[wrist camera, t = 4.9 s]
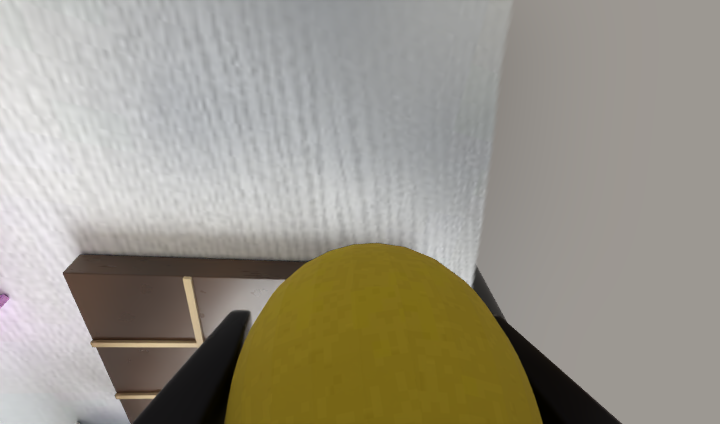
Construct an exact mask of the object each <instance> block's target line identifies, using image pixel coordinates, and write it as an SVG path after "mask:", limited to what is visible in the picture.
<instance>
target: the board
mask: <svg viewBox="0 0 720 424" xmlns="http://www.w3.org/2000/svg"><path fill="white" fill-rule="evenodd" d="M305 263H307V262H292V261H262V260H232V259H201V258H171V257H141V256H111V255H79V256H78V257H77V258H76V259H75V260H74V261H73V263H72V264H71V265H70V266H69V267H68V268H67V269H66V270H65V271H64V272H63V275H64V277H65V279H66V282H67V284H68V286H69V288H70V291H71V293H72V295H73V297H74V299H75V302H76V304H77V306H78V308H79V310H80V313H81V315H82V317H83V319H84V321H85V324H86V326H87V328H88V330H89V333H90V335H91V337H92V339H93V340H92V341H91V345H92V347H96V348H97V350H98V352H99V355H100V357H101V359H102V361H103V364H104V366H105V368H106V370H107V372H108V375H109V377H110V379H111V381H112V383H113V386H114V388H115V390H116V392H117V393H116V394H115V397H116V399H120V401H121V403H122V406H123V408H124V410H125V412H126V414H127V417H128V419H129V421H130V423H132V422H133V421H134V420H135V419H136V418H137V417H138V416H139V414H140V413H141V412H142V411H143V410H144V409H145V408H146V407H147V405H148V404H149V403H150V402H151V401H152V400H153V399H154V397H155V396H156V395H157V394H158V393H159V392H160V391H161V390H162V388H163V387H164V386H165V385H166V384H167V383H168V382H169V381H170V379H171V378H172V377H173V376H174V375H175V374H176V373H177V372H178V370H179V369H180V368H181V367H182V366H183V365H184V364H185V362H186V361H187V360H188V359H189V358H190V357H191V356H192V355H193V353H194V352H195V351H196V350H197V349H198V348H199V347H200V346H201V344H202V343H203V342H204V341H205V340H206V339H207V338H208V336H209V335H210V334H211V333H212V332H213V331H214V330H215V329H216V327H217V326H218V325H219V324H220V323H221V322H222V321H223V320H224V318H225V317H226V316H227V315H228V314H229V313H230V312H231V311H233V310H249V311H250V312H251V317H252V325H253V324H254V322H255V321H256V319H257V317H258V316H259V314H260V313H261V311H262V309H263V308H264V306H265V305H266V303H267V302H268V300H269V298H270V297H271V295H272V294H273V293H274V292H275V290H276V289H277V288H278V287H279V286H280V285H281V284H282V283H283V282H284V281H285V280H286V279H287V278H289V277H290V276H291V275H292V274H293V273H294V272H296V271H297V270H298V269H299V268H300V267H302V266H303V265H304V264H305Z"/></svg>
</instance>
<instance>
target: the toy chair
mask: <svg viewBox="0 0 720 424" xmlns="http://www.w3.org/2000/svg"><path fill="white" fill-rule="evenodd" d="M8 300H9V298H8V297H7V296H6V295H0V308H1V307H2V306H3V305H4V304H5V303H6V302H7V301H8Z"/></svg>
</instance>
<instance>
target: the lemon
mask: <svg viewBox="0 0 720 424" xmlns="http://www.w3.org/2000/svg"><path fill="white" fill-rule="evenodd" d="M224 424H543V422H542V419H541V416H540V412H539V409H538V406H537V402H536V399H535V396H534V394H533V391H532V388H531V385H530V383H529V380H528V377H527V375H526V373H525V370H524V368H523V366H522V364H521V362H520V359H519V357H518V355H517V353H516V352H515V350H514V348H513V346H512V344H511V342H510V341H509V339H508V337H507V336H506V334H505V333H504V331H503V330H502V328H501V327H500V325H499V324H498V322H497V321H496V319H495V318H494V316H493V315H492V313H491V312H490V310H489V309H488V308H487V306H486V305H485V303H484V302H483V301H482V300H481V298H480V297H479V296H478V295H477V293H476V292H475V291H474V290H473V289H472V288H471V287H470V286H469V285H468V284H467V283H466V282H465V281H464V280H462V279H461V278H460V277H458V276H457V275H456V274H454V273H453V272H452V271H450V270H449V269H448V268H446V267H445V266H444V265H442V264H441V263H439V262H438V261H437V260H435V259H433V258H431V257H429V256H427V255H424V254H421V253H419V252H416V251H414V250H411V249H409V248H406V247H401V246H394V245H387V244H381V243H369V244H354V245H350V246H346V247H343V248H339V249H335V250H332V251H329V252H327V253H325V254H323V255H321V256H319V257H317V258H315V259H313V260H311V261H309V262H307V263H305V264H304V265H303V266H302V267H300V268H299V269H298V270H297V271H296V272H294V273H293V274H292V275H291V276H290V277H289V278H287V279H286V280H285V281H284V282H283V283H282V284H281V285H280V286H279V287H278V288H277V289H276V290H275V292H274V293H273V294H272V295H271V297H270V298H269V300H268V302H267V303H266V305H265V306H264V308H263V309H262V311H261V313H260V314H259V316H258V317H257V319H256V321H255V322H254V324H253V325H252V327H251V329H250V331H249V333H248V335H247V338H246V340H245V342H244V344H243V347H242V350H241V352H240V355H239V358H238V361H237V364H236V368H235V371H234V375H233V378H232V383H231V388H230V393H229V398H228V404H227V409H226V414H225V419H224Z"/></svg>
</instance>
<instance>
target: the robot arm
mask: <svg viewBox="0 0 720 424" xmlns="http://www.w3.org/2000/svg"><path fill="white" fill-rule="evenodd" d="M493 316H494V318H495V319H496V321H497V322H498V324H499V325H500V327H501V328H502V330H503V331H504V333H505V334H506V336H507V337H508V339H509V341H510V342H511V344H512V346H513V348H514V350H515V352H516V353H517V355H518V357H519V359H520V362H521V364H522V366H523V368H524V370H525V373H526V375H527V377H528V380H529V383H530V385H531V388H532V391H533V394H534V396H535V399H536V402H537V406H538V409H539V412H540V416H541V419H542V422H543V424H622V423H620V422H619V421H618V420H617V419H616V418H615V417H614V416H613V415H611V414H610V413H609V412H608V411H607V410H606V409H605V408H604V407H602V406H601V405H600V404H599V403H598V402H597V401H596V400H594V399H593V398H592V397H591V396H590V395H589V394H588V393H587V392H585V391H584V390H583V389H582V388H581V387H580V386H579V385H577V384H576V383H575V382H574V381H573V380H572V379H571V378H569V377H568V376H567V375H566V374H565V373H564V372H562V371H561V370H560V369H559V368H558V367H557V366H556V365H555V364H553V363H552V362H551V361H550V360H549V359H548V358H547V357H545V356H544V355H543V354H542V353H541V352H540V351H539V350H538V349H537V348H535V347H534V346H533V345H532V344H531V343H530V342H528V341H527V340H526V339H525V338H524V337H523V336H522V335H521V334H519V333H518V332H517V331H516V330H515V329H514V328H512V326H510V325H509V324H508V323H507V322H506V321H505V320H504V319H502V318H501V317H500V316H498V315H493ZM251 327H252V317H251V312H250V311H249V310H233V311H231V312H230V313H229V314H228V315H227V316H226V317H225V318H224V320H223V321H222V322H221V323H220V324H219V325H218V326H217V327H216V329H215V330H214V331H213V332H212V333H211V334H210V335H209V336H208V338H207V339H206V340H205V341H204V342H203V343H202V344H201V346H200V347H199V348H198V349H197V350H196V351H195V352H194V353H193V355H192V356H191V357H190V358H189V359H188V360H187V361H186V362H185V364H184V365H183V366H182V367H181V368H180V369H179V370H178V372H177V373H176V374H175V375H174V376H173V377H172V378H171V379H170V381H169V382H168V383H167V384H166V385H165V386H164V387H163V388H162V390H161V391H160V392H159V393H158V394H157V395H156V396H155V397H154V399H153V400H152V401H151V402H150V403H149V404H148V405H147V407H146V408H145V409H144V410H143V411H142V412H141V413H140V414H139V416H138V417H137V418H136V419H135V420H134V421H133V422H132V423H131V424H224V419H225V414H226V409H227V404H228V398H229V393H230V388H231V383H232V378H233V375H234V371H235V368H236V364H237V361H238V358H239V355H240V352H241V350H242V347H243V344H244V342H245V340H246V338H247V335H248V333H249V331H250V329H251Z"/></svg>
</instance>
